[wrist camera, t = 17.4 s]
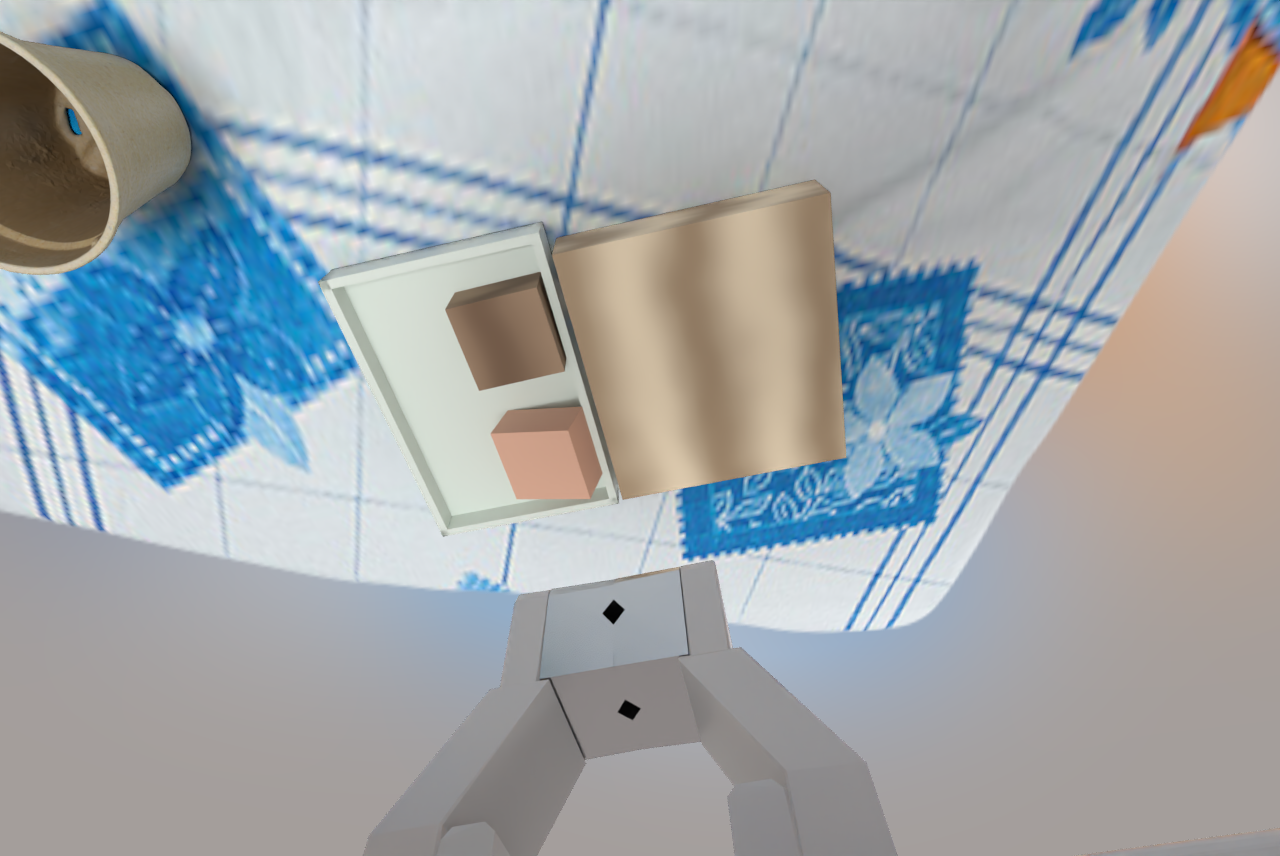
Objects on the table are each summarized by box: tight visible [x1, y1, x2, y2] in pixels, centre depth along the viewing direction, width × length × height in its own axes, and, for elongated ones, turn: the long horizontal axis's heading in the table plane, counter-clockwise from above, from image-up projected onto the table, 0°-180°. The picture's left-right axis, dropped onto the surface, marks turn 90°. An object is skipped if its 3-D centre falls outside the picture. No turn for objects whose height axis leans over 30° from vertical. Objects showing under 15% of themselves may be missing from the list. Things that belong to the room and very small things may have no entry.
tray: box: [318, 222, 619, 536], centre depth 40 cm, size 12×18×2 cm, turn 12°
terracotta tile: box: [490, 407, 603, 499], centre depth 41 cm, size 5×5×2 cm
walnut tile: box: [445, 272, 567, 391], centre depth 37 cm, size 5×5×2 cm
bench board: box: [552, 180, 846, 500], centre depth 38 cm, size 14×16×3 cm
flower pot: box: [0, 31, 191, 275], centre depth 29 cm, size 9×9×9 cm
